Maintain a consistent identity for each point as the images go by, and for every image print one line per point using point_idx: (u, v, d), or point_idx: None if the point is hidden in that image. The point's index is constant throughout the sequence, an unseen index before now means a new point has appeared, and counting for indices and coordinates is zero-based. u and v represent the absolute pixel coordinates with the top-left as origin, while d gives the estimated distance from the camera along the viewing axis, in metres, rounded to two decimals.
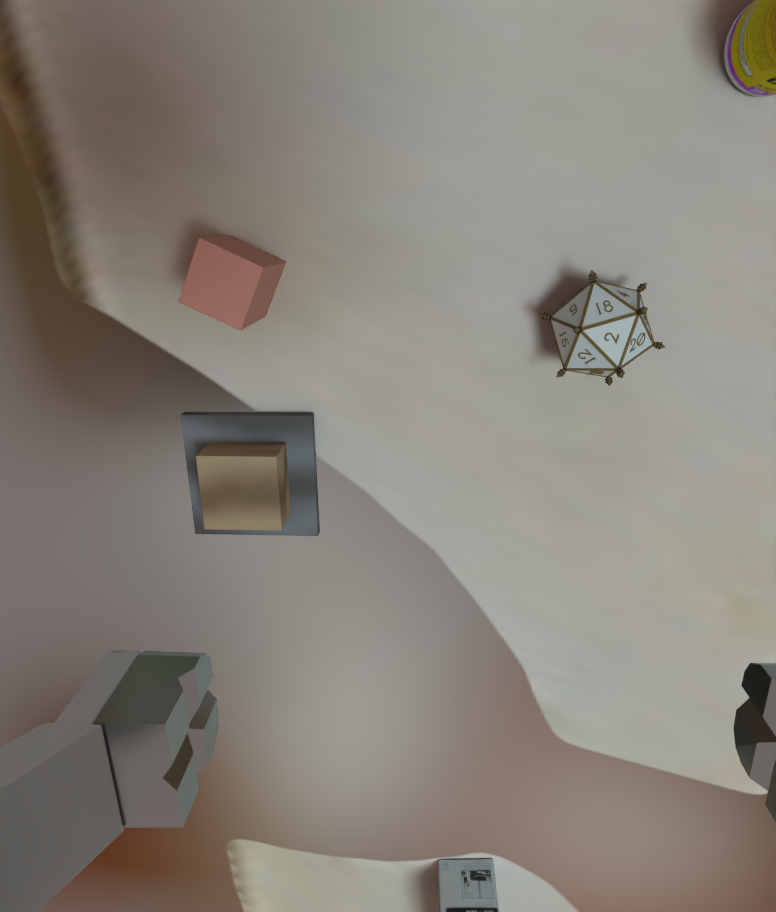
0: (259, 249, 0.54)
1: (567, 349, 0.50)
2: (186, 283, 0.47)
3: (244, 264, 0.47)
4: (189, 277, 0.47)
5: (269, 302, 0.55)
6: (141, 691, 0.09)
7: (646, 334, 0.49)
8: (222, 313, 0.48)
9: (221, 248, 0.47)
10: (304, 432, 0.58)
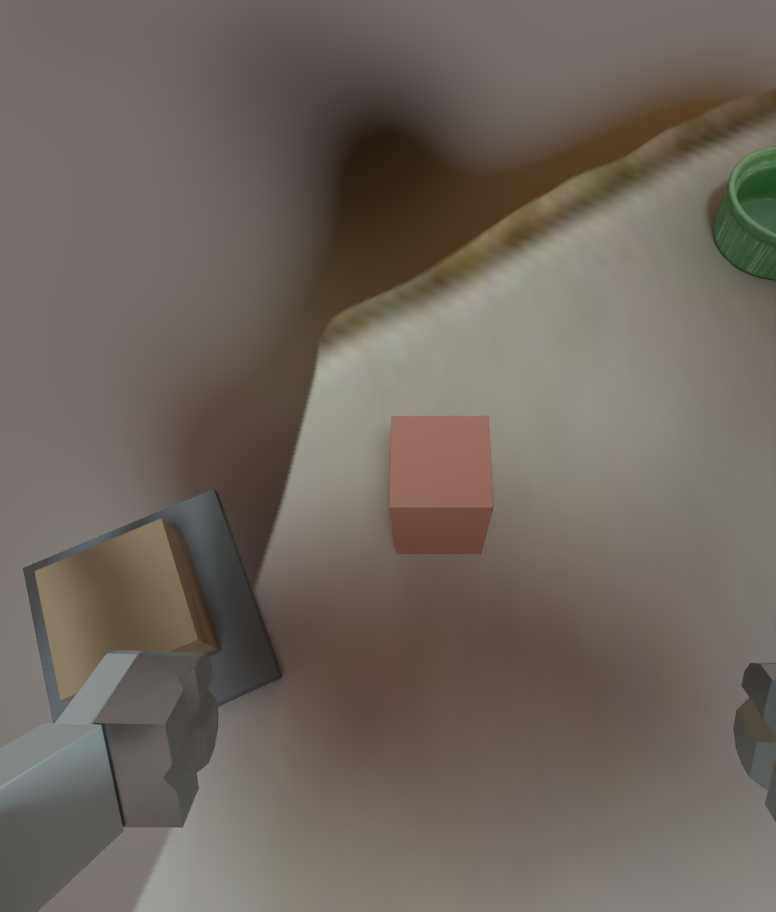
0: None
1: None
2: (421, 419, 0.33)
3: (483, 481, 0.31)
4: (431, 420, 0.33)
5: (419, 551, 0.38)
6: (141, 691, 0.09)
7: None
8: (401, 475, 0.32)
9: None
10: (246, 674, 0.35)
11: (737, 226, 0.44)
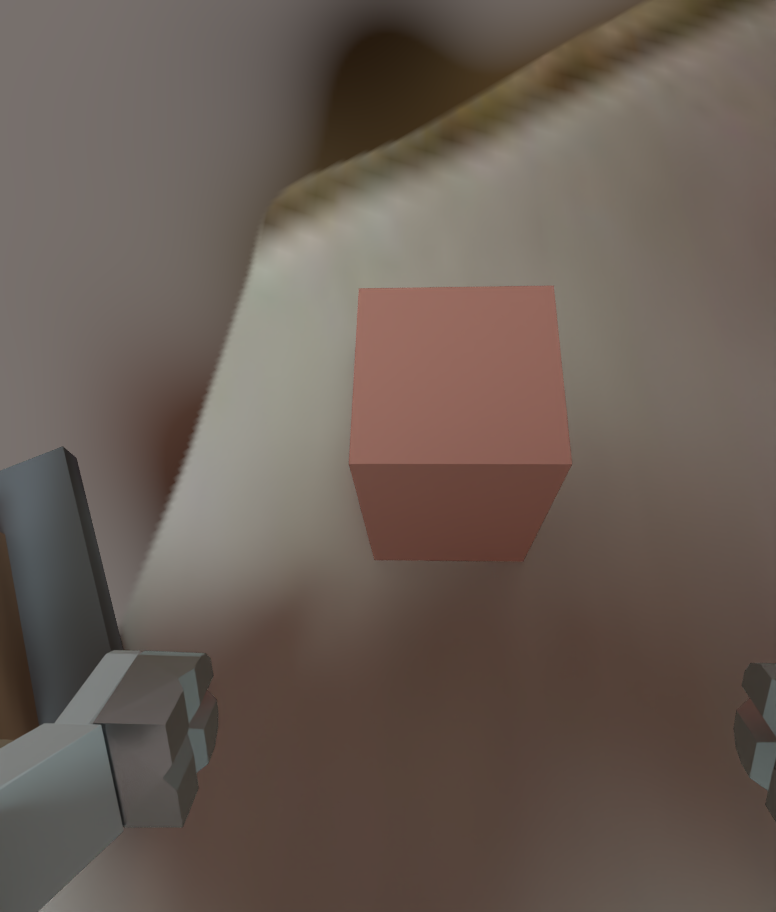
0: None
1: None
2: (419, 293, 0.17)
3: (548, 411, 0.15)
4: (437, 294, 0.17)
5: (414, 555, 0.21)
6: (141, 691, 0.09)
7: None
8: (377, 400, 0.15)
9: (556, 343, 0.16)
10: None
11: None
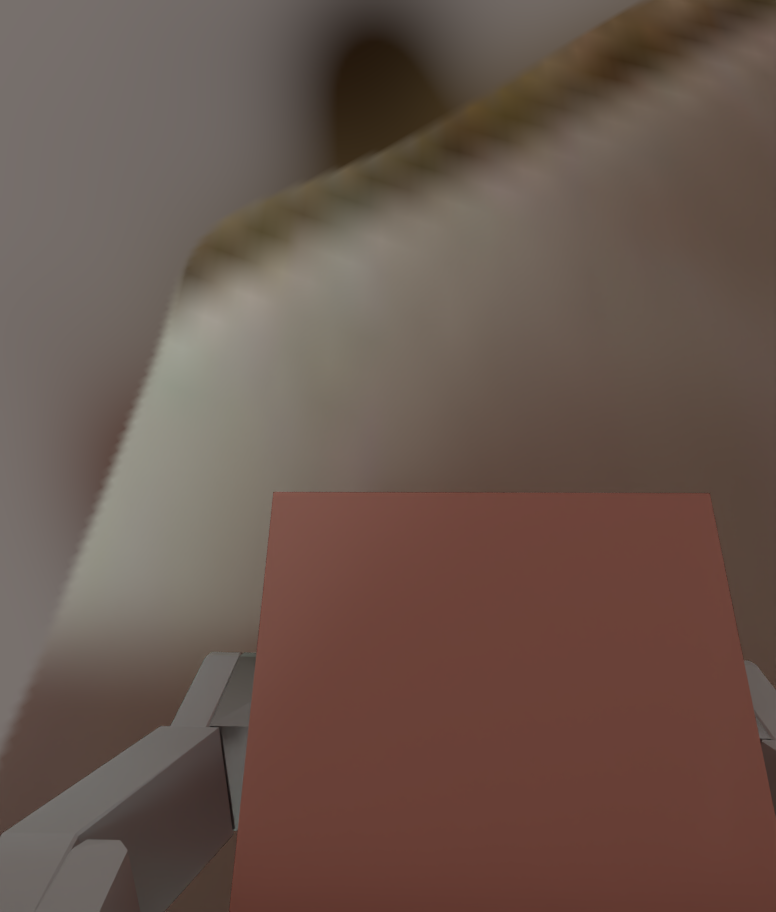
0: None
1: None
2: (407, 507, 0.07)
3: (740, 871, 0.06)
4: (448, 510, 0.07)
5: None
6: (251, 693, 0.09)
7: None
8: (300, 819, 0.06)
9: (732, 649, 0.07)
10: None
11: None
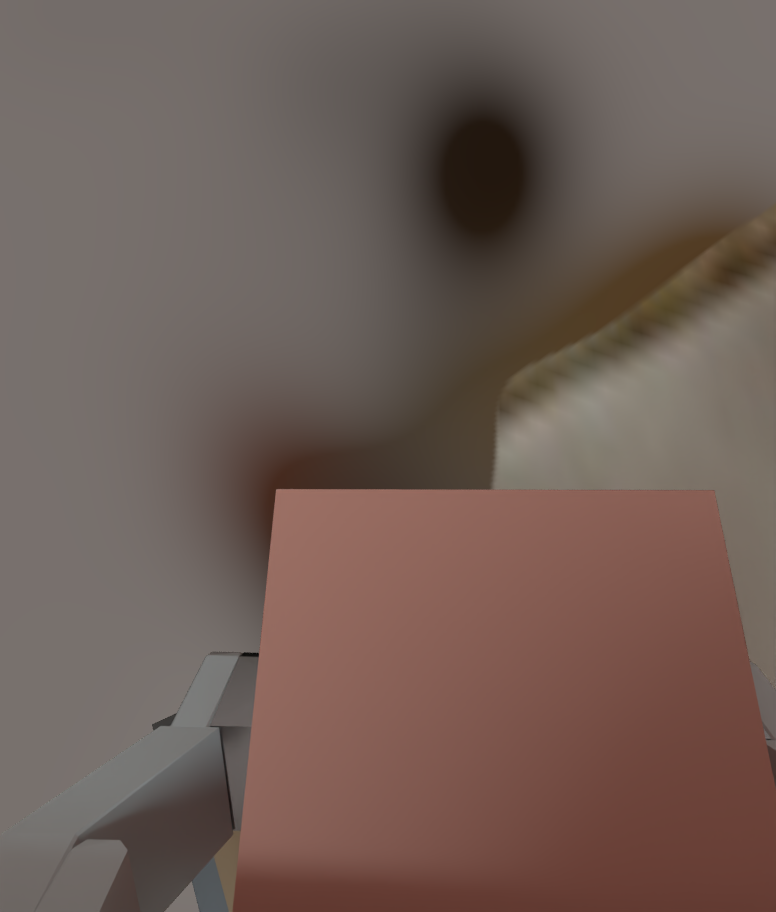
0: None
1: None
2: (408, 503, 0.07)
3: (745, 869, 0.06)
4: (451, 508, 0.07)
5: None
6: (251, 693, 0.09)
7: None
8: (303, 817, 0.06)
9: (736, 647, 0.07)
10: None
11: None
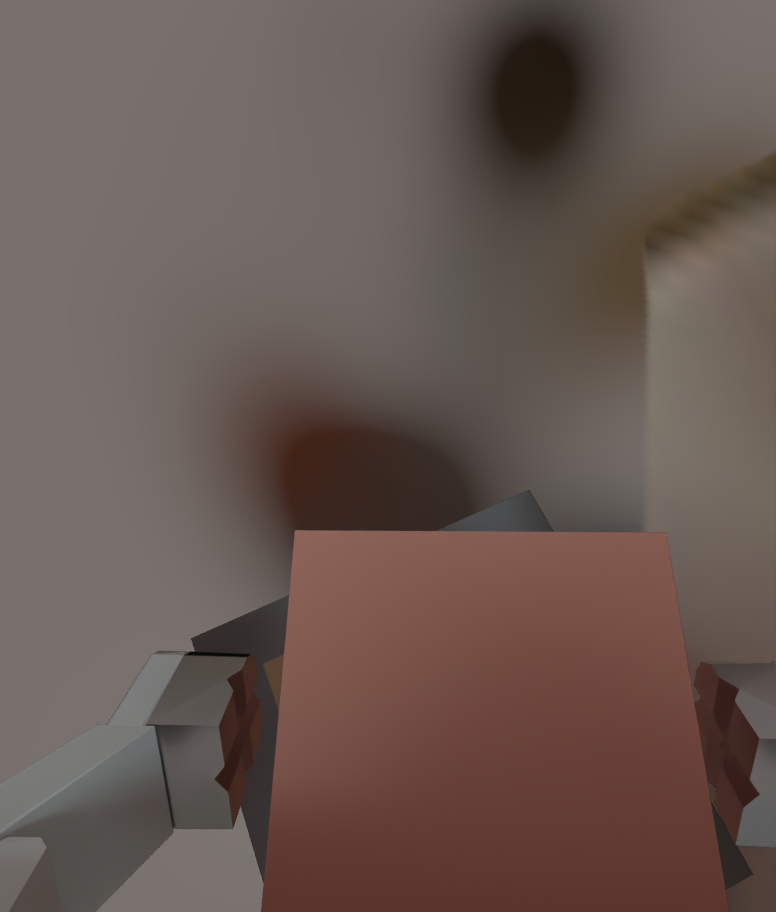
0: None
1: None
2: (407, 543, 0.09)
3: (680, 849, 0.07)
4: (443, 547, 0.09)
5: None
6: (191, 692, 0.09)
7: None
8: (320, 807, 0.07)
9: (680, 666, 0.08)
10: None
11: None
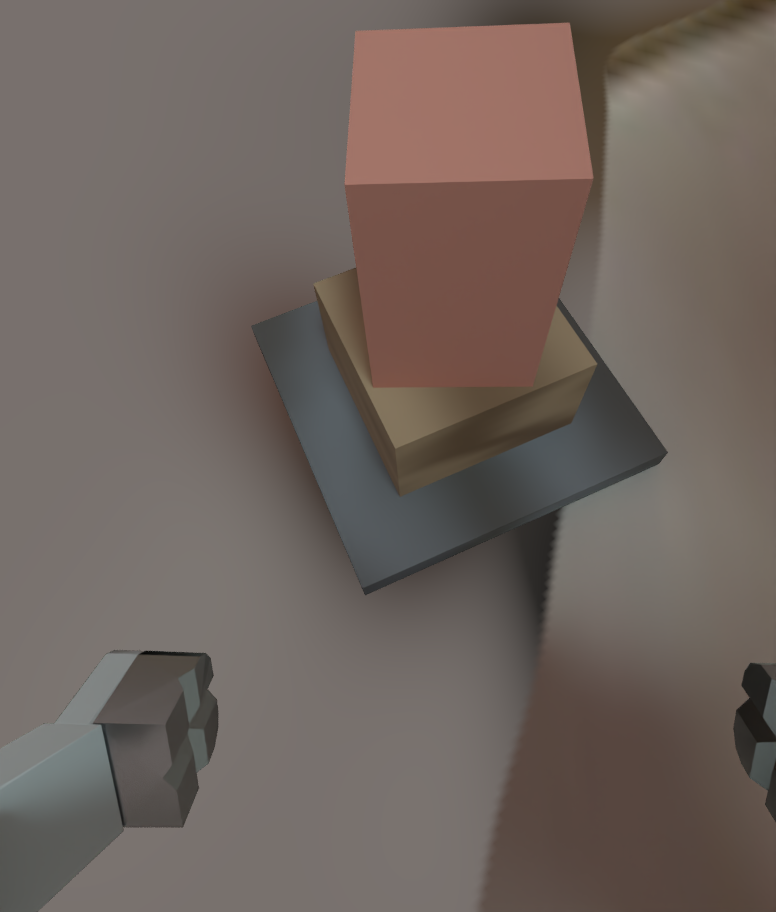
0: None
1: None
2: (421, 33, 0.15)
3: (566, 132, 0.13)
4: (442, 34, 0.15)
5: (415, 377, 0.20)
6: (141, 691, 0.09)
7: None
8: (375, 127, 0.14)
9: (573, 75, 0.14)
10: (618, 452, 0.23)
11: None
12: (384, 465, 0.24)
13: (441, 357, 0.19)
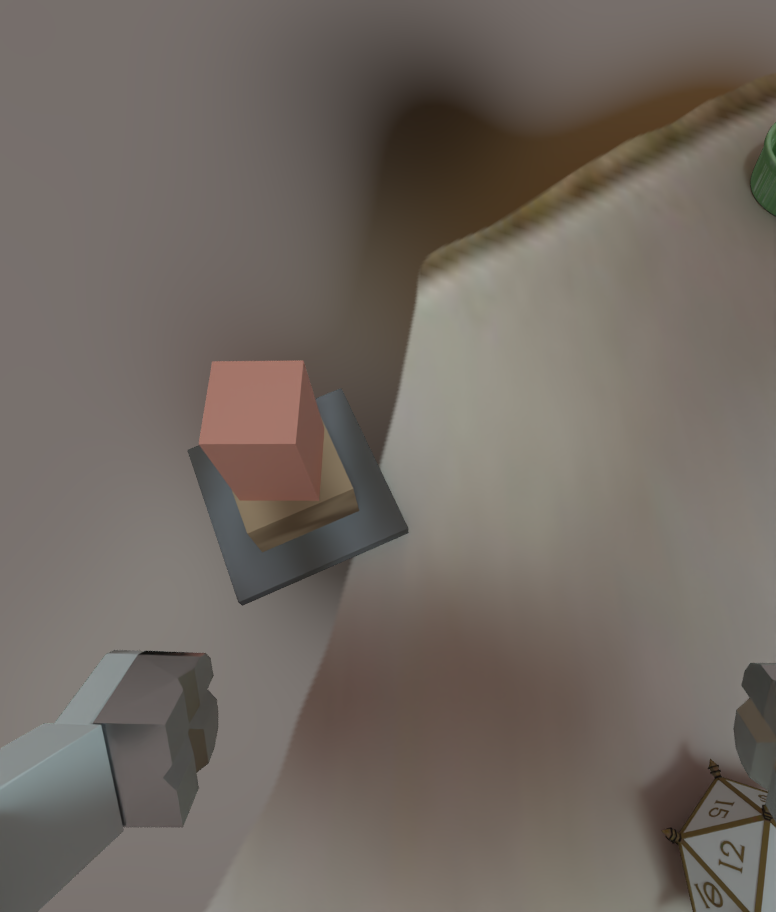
0: (321, 464, 0.41)
1: (714, 821, 0.31)
2: (240, 363, 0.35)
3: (290, 420, 0.33)
4: (249, 364, 0.35)
5: (258, 497, 0.39)
6: (141, 691, 0.09)
7: None
8: (214, 415, 0.33)
9: (300, 388, 0.34)
10: (381, 528, 0.43)
11: (773, 176, 0.52)
12: None
13: (267, 490, 0.38)
